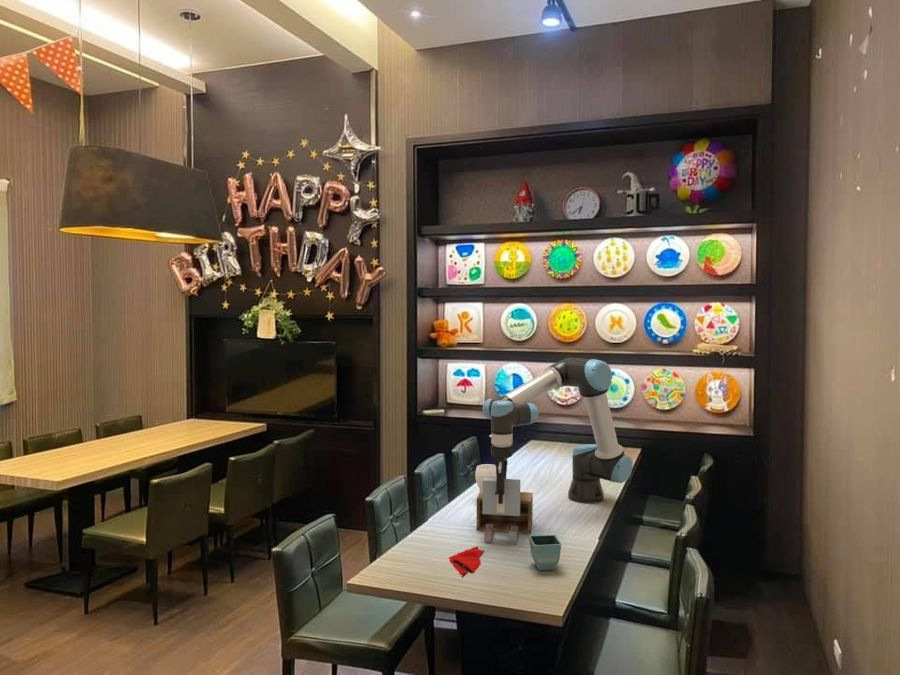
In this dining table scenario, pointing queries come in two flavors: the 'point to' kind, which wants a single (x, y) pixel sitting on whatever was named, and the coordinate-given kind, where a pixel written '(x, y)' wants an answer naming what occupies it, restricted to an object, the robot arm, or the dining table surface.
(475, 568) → the cloth
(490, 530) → the hinge clips
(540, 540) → the flower pot
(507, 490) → the door
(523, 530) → the cabinet
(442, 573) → the dining table surface
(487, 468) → the cup
